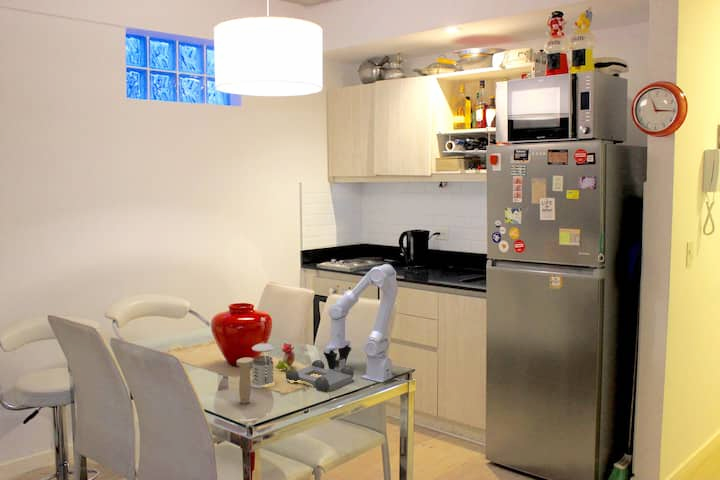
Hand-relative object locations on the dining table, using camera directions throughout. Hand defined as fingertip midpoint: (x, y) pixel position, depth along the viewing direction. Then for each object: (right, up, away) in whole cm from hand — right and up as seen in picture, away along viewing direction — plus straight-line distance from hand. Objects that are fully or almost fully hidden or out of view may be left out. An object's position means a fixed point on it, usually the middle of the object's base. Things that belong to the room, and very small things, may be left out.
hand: (337, 366), depth 281 cm
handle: (-30, -6, -38) cm, 49 cm away
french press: (-27, -3, -19) cm, 33 cm away
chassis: (-6, -3, -14) cm, 15 cm away
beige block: (0, -2, 0) cm, 2 cm away
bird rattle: (-20, -1, -1) cm, 20 cm away
